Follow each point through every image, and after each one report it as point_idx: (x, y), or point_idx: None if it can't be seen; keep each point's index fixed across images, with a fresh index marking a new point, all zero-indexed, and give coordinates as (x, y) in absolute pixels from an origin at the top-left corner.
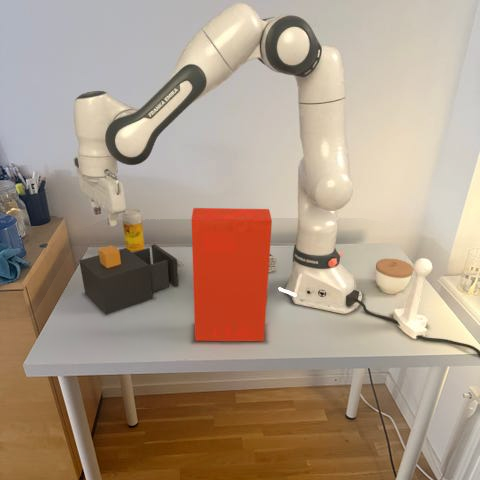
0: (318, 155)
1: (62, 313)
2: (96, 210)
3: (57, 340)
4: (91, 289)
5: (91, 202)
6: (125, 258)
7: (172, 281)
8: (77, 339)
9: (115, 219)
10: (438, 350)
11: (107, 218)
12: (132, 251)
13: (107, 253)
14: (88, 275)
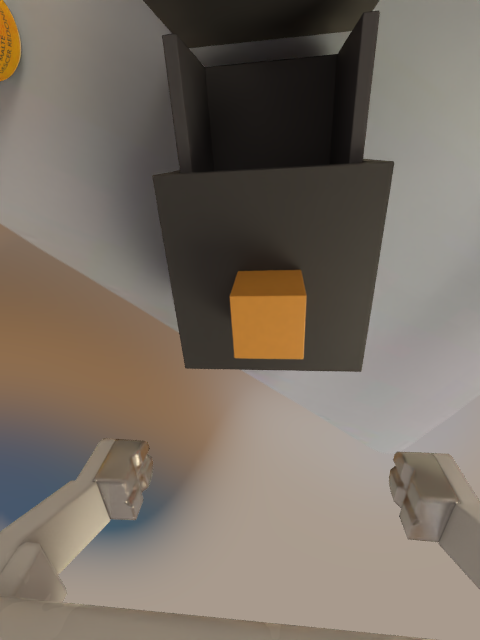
0: None
1: (268, 375)
2: (140, 491)
3: (358, 412)
4: None
5: (68, 561)
6: (260, 230)
7: (345, 25)
8: (384, 388)
9: (476, 507)
10: None
11: (408, 538)
12: (3, 60)
13: (303, 348)
14: None
